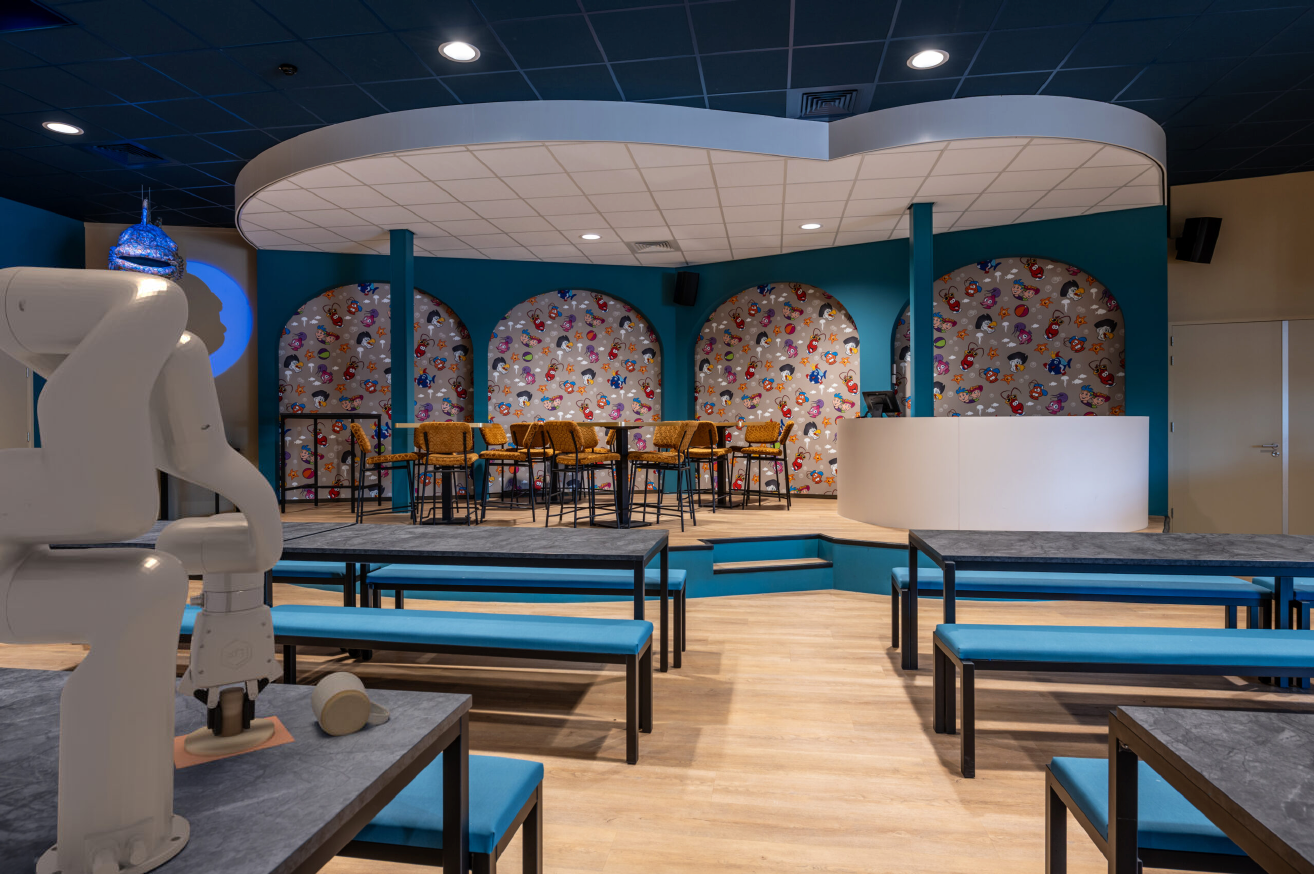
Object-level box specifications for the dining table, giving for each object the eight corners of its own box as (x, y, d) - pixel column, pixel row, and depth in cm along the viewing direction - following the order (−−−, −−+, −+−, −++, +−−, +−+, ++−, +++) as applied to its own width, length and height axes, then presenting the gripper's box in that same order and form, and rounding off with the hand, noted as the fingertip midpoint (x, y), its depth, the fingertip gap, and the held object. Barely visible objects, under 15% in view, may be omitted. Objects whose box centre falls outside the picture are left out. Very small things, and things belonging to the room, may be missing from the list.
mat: (295, 744, 100) (295, 740, 100) (176, 773, 91) (176, 768, 91) (275, 719, 109) (275, 715, 109) (166, 743, 100) (166, 738, 100)
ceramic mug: (319, 744, 100) (321, 690, 100) (309, 725, 107) (311, 674, 107) (395, 729, 106) (397, 678, 106) (382, 712, 113) (384, 664, 113)
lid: (282, 742, 100) (283, 692, 100) (189, 763, 92) (191, 710, 93) (265, 718, 108) (266, 673, 108) (179, 737, 101) (180, 688, 101)
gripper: (167, 613, 92) (164, 754, 92) (302, 597, 103) (300, 723, 103) (161, 603, 98) (158, 735, 98) (289, 589, 109) (287, 708, 108)
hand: (230, 728), depth 100 cm, fingers closed on lid, 3 cm apart
